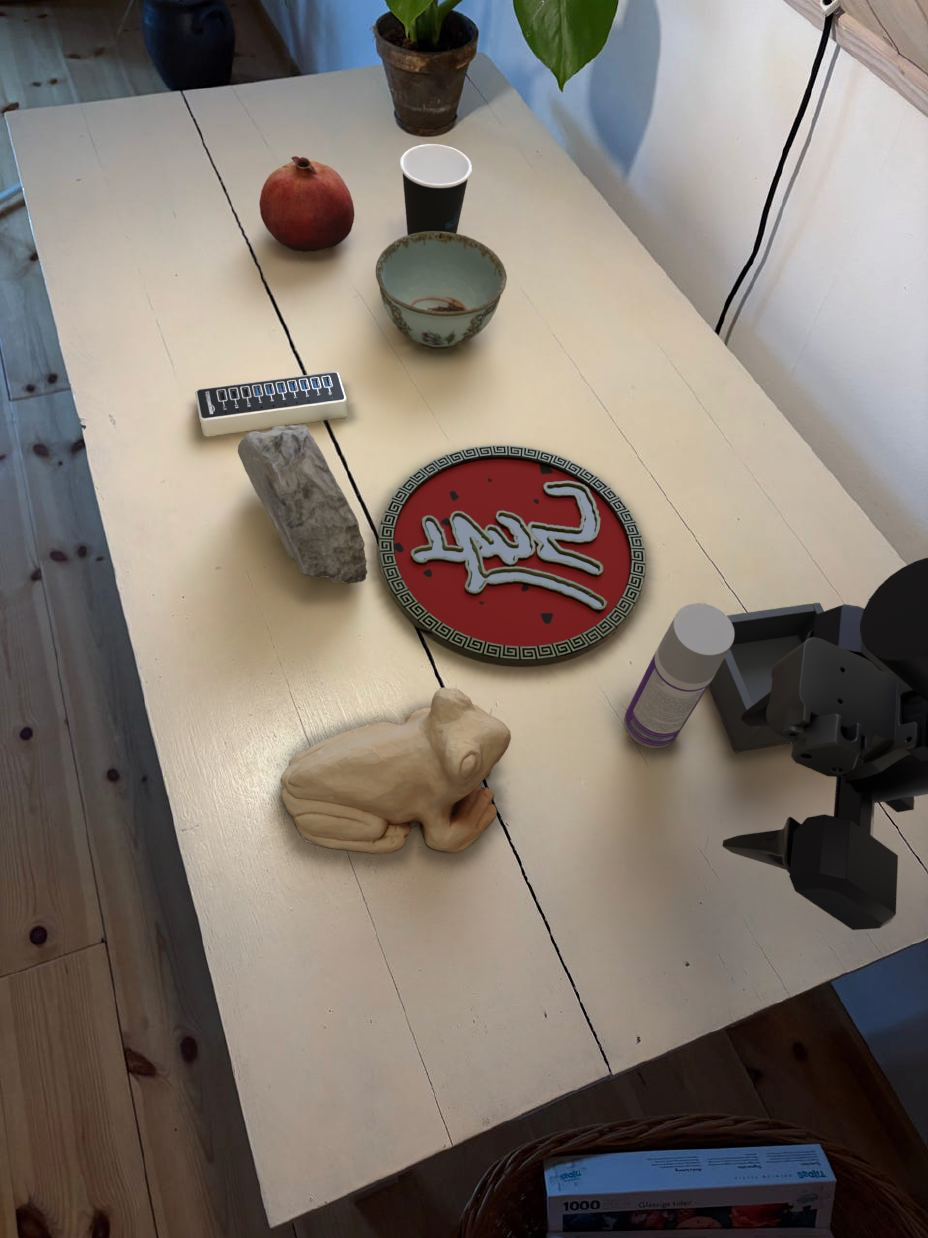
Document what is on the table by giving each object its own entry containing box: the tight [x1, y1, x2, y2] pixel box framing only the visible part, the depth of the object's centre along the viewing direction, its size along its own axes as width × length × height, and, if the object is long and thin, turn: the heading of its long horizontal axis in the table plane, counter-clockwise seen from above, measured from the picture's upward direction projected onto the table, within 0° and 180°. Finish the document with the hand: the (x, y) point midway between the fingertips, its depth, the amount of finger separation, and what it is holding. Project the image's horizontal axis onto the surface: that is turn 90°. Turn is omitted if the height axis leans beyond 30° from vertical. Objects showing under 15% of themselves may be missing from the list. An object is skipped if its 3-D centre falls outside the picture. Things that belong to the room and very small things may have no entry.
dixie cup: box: [399, 143, 473, 235], centre depth 108 cm, size 8×8×11 cm
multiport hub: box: [194, 371, 348, 437], centre depth 95 cm, size 4×14×2 cm, turn 106°
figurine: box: [280, 687, 512, 855], centre depth 71 cm, size 12×17×10 cm
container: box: [624, 602, 735, 749], centre depth 74 cm, size 5×5×15 cm
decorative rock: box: [237, 424, 368, 585], centre depth 81 cm, size 16×7×15 cm, turn 28°
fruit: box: [258, 155, 355, 253], centre depth 107 cm, size 11×10×10 cm
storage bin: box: [708, 602, 825, 753], centre depth 81 cm, size 11×11×5 cm
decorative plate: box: [377, 444, 647, 668], centre depth 88 cm, size 25×1×25 cm
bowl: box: [375, 231, 508, 351], centre depth 101 cm, size 14×13×8 cm
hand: (736, 781), depth 61 cm, fingers open, 9 cm apart
